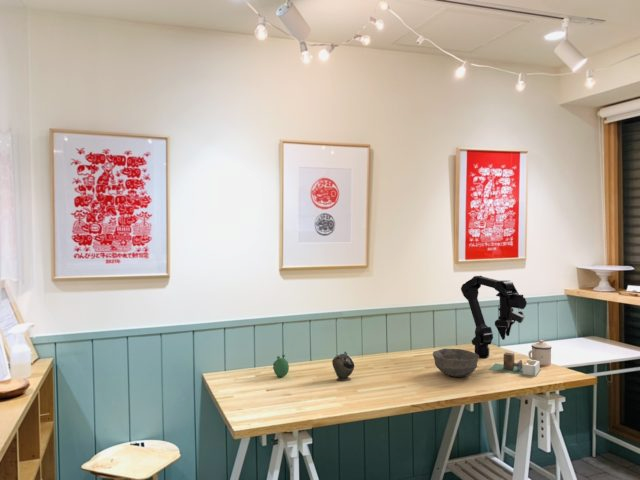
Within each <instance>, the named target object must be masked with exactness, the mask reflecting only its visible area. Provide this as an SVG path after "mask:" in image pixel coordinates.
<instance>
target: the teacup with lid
mask: <svg viewBox="0 0 640 480" xmlns="http://www.w3.org/2000/svg"><path fill="white" fill-rule="evenodd" d="M528 358H529V360H536V361H540V366H549V365H551V364H552V345H550V344H549V343H546V342H544V339H543V340H542V339H540V340H539V341H537V342H535V343H532V344H531V350H529V351H528Z"/></svg>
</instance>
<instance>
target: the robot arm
mask: <svg viewBox="0 0 640 480" xmlns="http://www.w3.org/2000/svg"><path fill="white" fill-rule="evenodd" d="M482 286H485V287H487V288H488V287H489V288H492V289H494V291H497V292H498V293H497V294H495V296H496V297H499V308H498V312H499V316H498V318H497V319H496V320H495V321H494V326H495V327H496V329H497V331H498V333H499V336H500V337H501V339H502V340H505V339H506V336H507V337H510V333H511V330H512V326H513V325H514V324H515V323H516V322H517V323H519V324H522V323H523V321H524V319H525V314H524V312H523V311H521V310H524V309H525V308H526V306H527V305H528V303H527V300H526V298H525V296H524V294H519V292H518V290H517V288H516V287H515V285H514V282H513V281H512V280H500V279H494V278H489V277H487V276H482V275H474V276H473V277H472V278H471V279H469V280H467V281H466V282H465V283H463V284H462V285H461V287H460V291H461V293H462V296H463V297H464V299H465V300H467V302H468V305H469V308H470V311H471V312H470V313H471V314H472V315H471V316H472V318H473V321H474V324H475V331H474V337H473V338H472V340H471V344H472V345H473V346H474V353H476V354H477V355H479V358H482V359H487V358H488V357H489V356H490V347H489V345H491V344H492V341H493V338H494V333H493V331H492V327H491V326H488V325H487V324H486V321H485V318H484V315H483V313H482V309H481V305H480V302H479V300H478V299H479V298H478V296H479V289H480V288H481V287H482ZM514 309H518V310H519V311H518V312H517V311H514Z"/></svg>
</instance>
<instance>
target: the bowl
mask: <svg viewBox="0 0 640 480" xmlns="http://www.w3.org/2000/svg"><path fill="white" fill-rule="evenodd" d="M432 356H433V359H434V366H435V367H436V368H437V369H438V371H440V372H441V373H443V374H444V375H447V376H451V377H454V378H455V377H456V378H462V377H467V376H469V375H471V374H473V373H474V372H475V370H476V369H477V368H478V362H479V358H480V357H479V355H477V354H476V353H475V352H473V351H470V350H468V349H467V350H466V349H463V348H462V349H461V348H441V349H438V350H435V351H433V352H432Z"/></svg>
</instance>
